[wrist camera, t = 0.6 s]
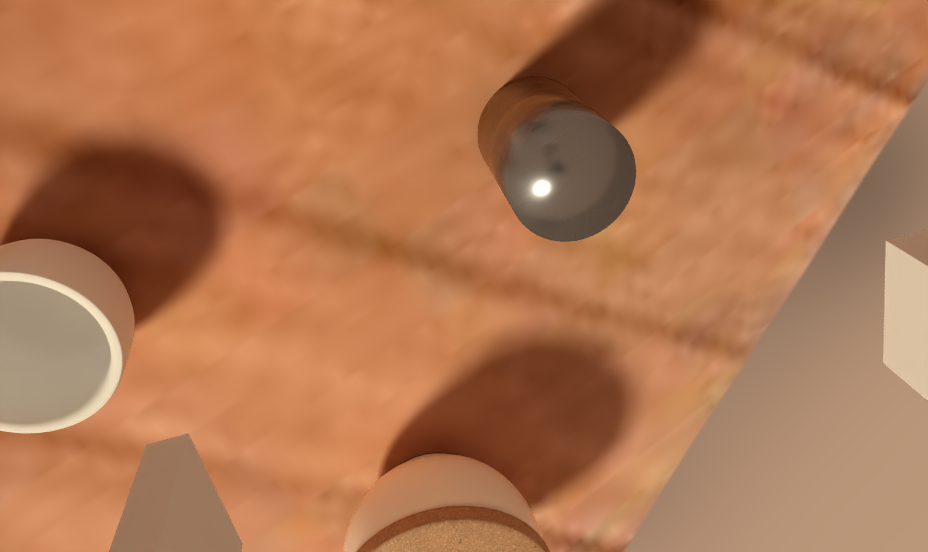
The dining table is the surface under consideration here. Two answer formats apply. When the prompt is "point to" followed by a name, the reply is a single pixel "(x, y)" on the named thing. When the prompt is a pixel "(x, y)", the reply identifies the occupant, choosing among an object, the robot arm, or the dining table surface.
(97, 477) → the dining table surface
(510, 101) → the grey tin
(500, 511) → the lidded jar
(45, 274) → the teacup
